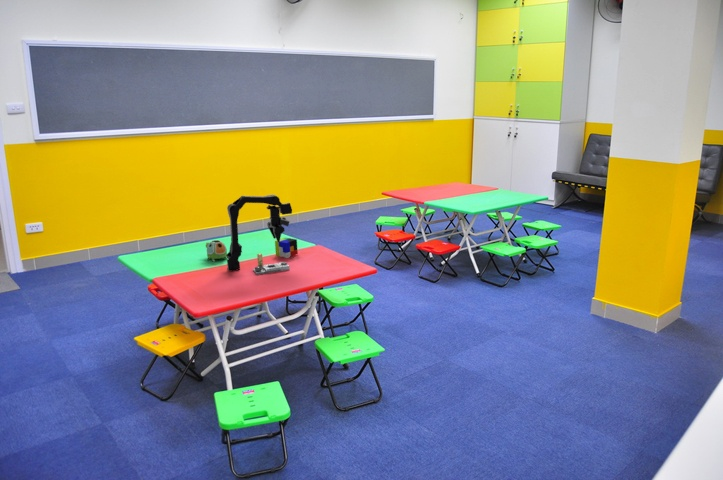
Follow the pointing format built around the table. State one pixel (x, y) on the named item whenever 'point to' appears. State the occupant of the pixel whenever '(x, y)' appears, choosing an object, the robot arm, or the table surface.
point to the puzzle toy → (286, 247)
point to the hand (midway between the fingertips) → (276, 240)
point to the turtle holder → (216, 250)
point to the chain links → (271, 268)
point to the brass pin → (260, 260)
